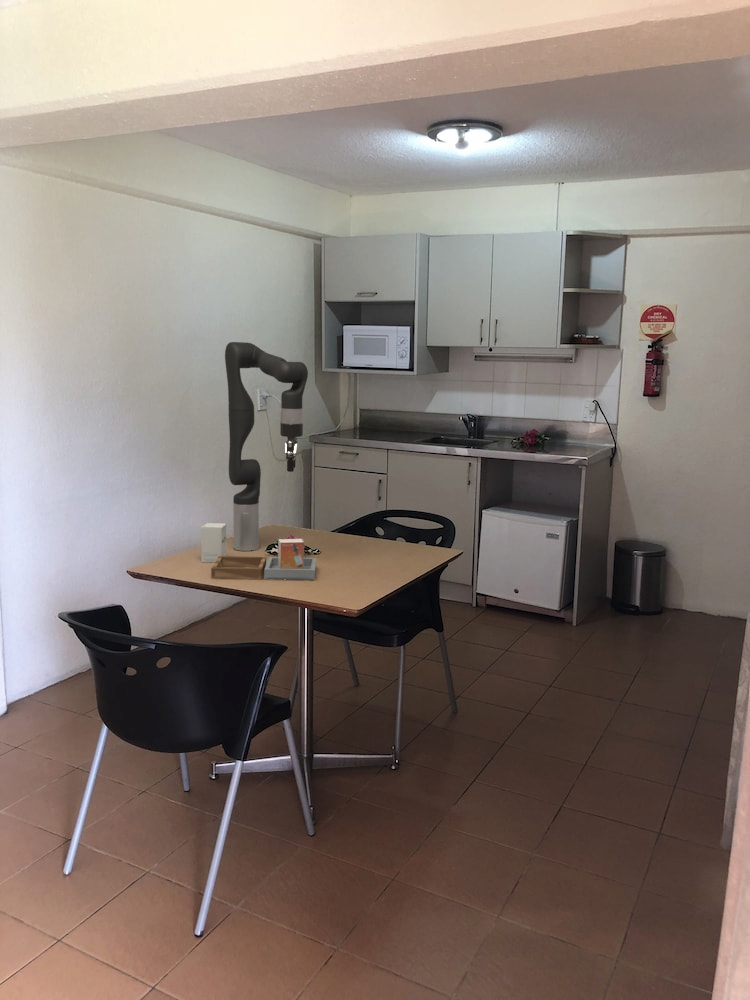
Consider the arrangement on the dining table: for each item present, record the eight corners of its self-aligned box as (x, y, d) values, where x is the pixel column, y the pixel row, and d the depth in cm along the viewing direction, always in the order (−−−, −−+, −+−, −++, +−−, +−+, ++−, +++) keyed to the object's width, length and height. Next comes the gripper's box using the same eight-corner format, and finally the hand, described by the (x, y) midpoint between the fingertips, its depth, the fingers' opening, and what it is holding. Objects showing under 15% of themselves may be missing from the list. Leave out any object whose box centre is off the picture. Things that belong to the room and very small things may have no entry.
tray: (269, 567, 282) (269, 557, 281) (316, 567, 283) (316, 557, 282) (264, 579, 266) (264, 569, 266) (314, 580, 267) (314, 570, 266)
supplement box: (221, 563, 285) (221, 527, 283) (200, 562, 286) (200, 526, 284) (226, 558, 293) (226, 523, 290) (206, 557, 293) (205, 522, 291)
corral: (219, 566, 282) (218, 556, 281) (266, 566, 282) (266, 557, 281) (211, 578, 266) (211, 568, 265) (261, 579, 266) (261, 569, 266)
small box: (279, 573, 271) (279, 542, 269) (277, 569, 276) (277, 538, 274) (304, 573, 273) (304, 541, 271) (301, 568, 278) (301, 538, 276)
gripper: (282, 419, 284) (281, 466, 287) (278, 423, 270) (278, 472, 273) (304, 420, 285) (303, 467, 287) (301, 424, 271) (301, 473, 273)
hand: (291, 469), depth 280 cm, fingers open, 8 cm apart
